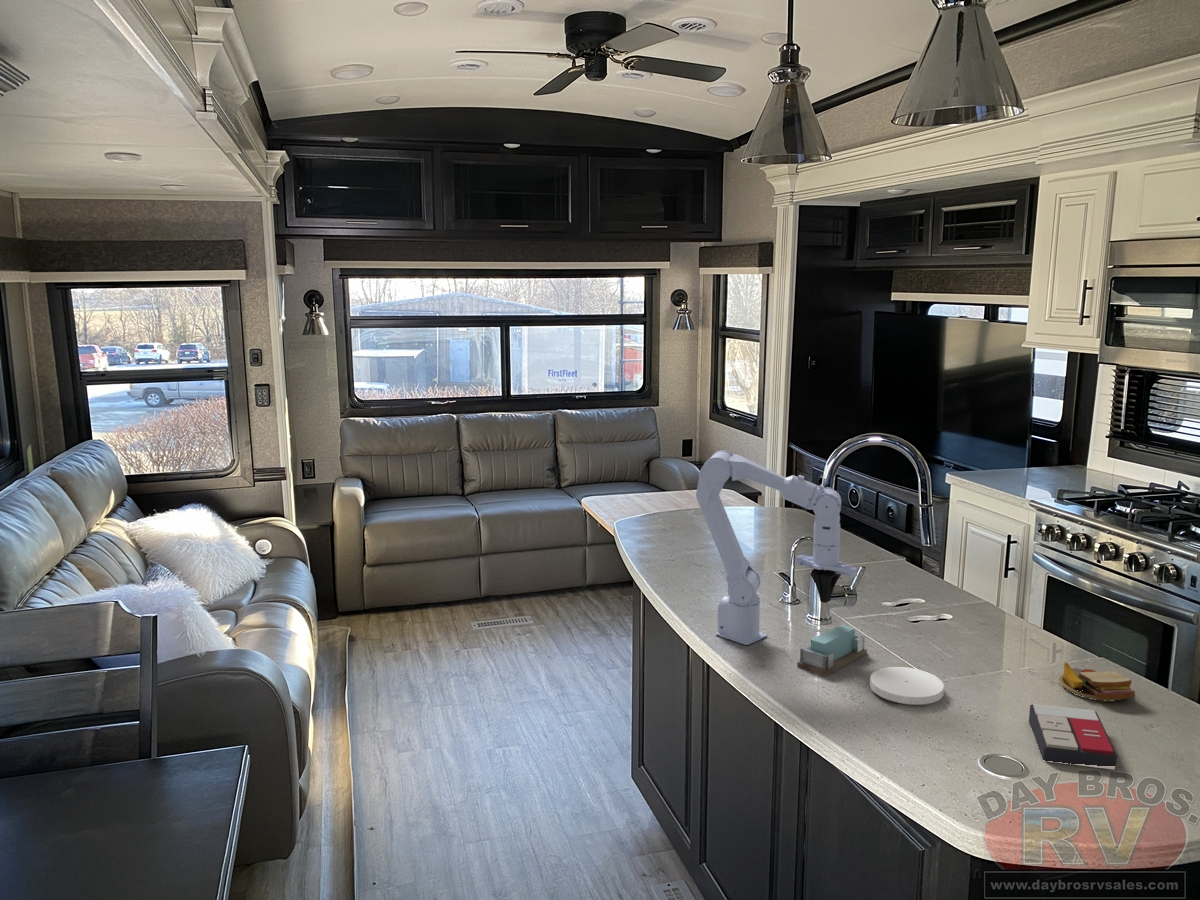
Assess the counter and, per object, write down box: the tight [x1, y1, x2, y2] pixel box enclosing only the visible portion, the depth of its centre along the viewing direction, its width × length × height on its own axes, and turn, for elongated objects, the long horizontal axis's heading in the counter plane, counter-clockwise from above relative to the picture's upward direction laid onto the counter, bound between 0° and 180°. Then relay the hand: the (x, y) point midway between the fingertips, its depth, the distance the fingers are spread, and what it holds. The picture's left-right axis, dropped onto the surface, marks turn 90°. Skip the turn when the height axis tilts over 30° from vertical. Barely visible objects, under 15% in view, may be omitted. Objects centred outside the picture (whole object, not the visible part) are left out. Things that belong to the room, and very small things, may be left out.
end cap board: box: [796, 647, 868, 677], centre depth 193 cm, size 7×16×1 cm, turn 133°
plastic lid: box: [869, 666, 945, 706], centre depth 177 cm, size 14×14×2 cm
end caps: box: [799, 633, 866, 670], centre depth 193 cm, size 6×15×3 cm, turn 133°
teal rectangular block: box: [810, 624, 856, 661], centre depth 192 cm, size 3×12×5 cm, turn 133°
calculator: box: [1028, 703, 1118, 767], centre depth 155 cm, size 11×4×15 cm
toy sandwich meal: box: [1058, 662, 1136, 702], centre depth 176 cm, size 12×14×5 cm
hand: (825, 601), depth 199 cm, fingers closed
